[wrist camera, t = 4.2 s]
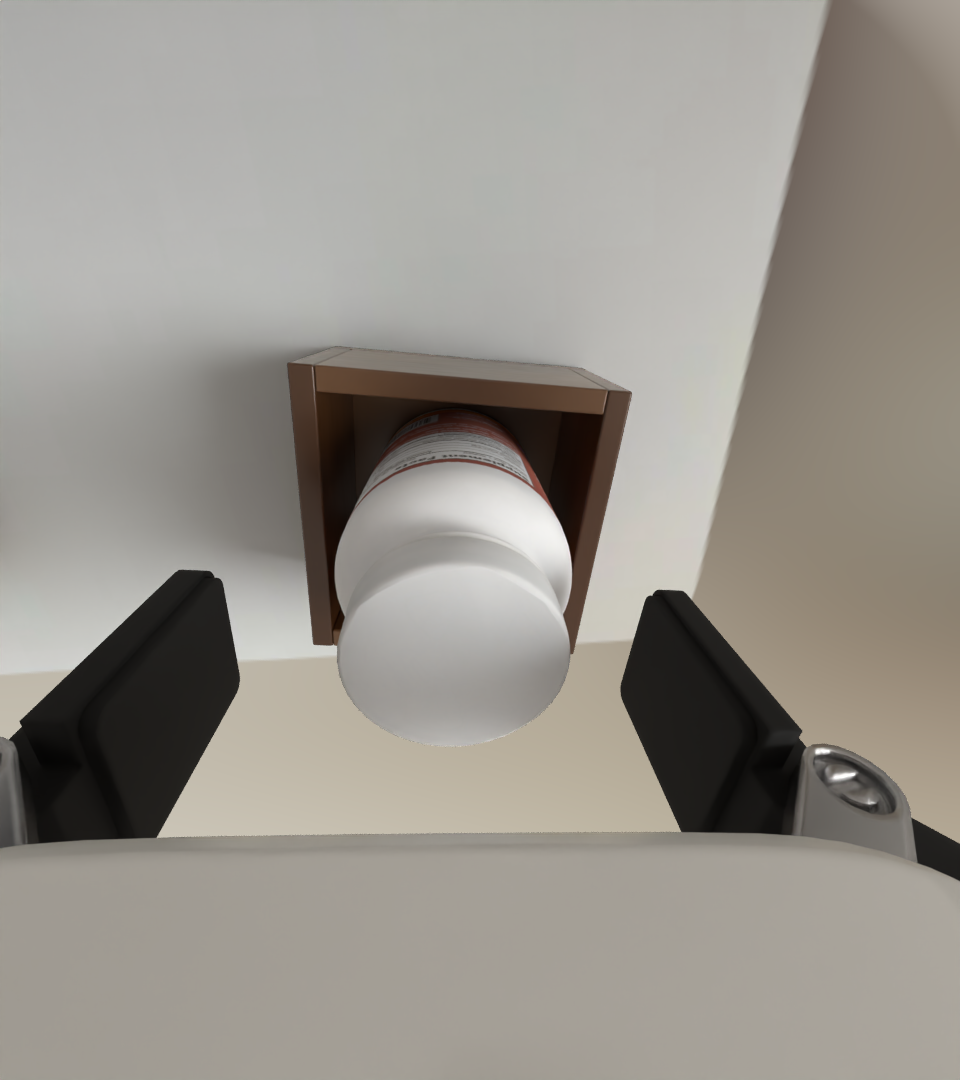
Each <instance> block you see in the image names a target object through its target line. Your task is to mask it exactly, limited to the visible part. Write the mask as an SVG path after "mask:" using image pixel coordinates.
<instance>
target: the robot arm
mask: <svg viewBox="0 0 960 1080" xmlns="http://www.w3.org/2000/svg"><path fill="white" fill-rule="evenodd" d="M239 682H240V676H239V669H238V664H237V658H236V653H235V647H234V642H233V636H232V631H231V625H230V620H229V614H228V609H227V603H226V598H225V593H224V587H223V583H222V581H221V579H219V578H214V575H213V574H212V572H210V571H198V570H178V571H177V572H175V573H174V574H173V575H172V576H171V577H170V578H169V579H168V580H167V581H166V582H165V583H164V584H163V585H162V586H161V587H160V588H159V589H158V590H156V591H155V592H154V593H153V594H152V595H151V596H150V597H149V598H148V599H147V600H146V601H145V602H144V603H143V604H142V605H141V606H140V607H139V608H138V609H137V610H136V611H134V612H133V613H132V614H131V615H130V616H129V617H128V618H127V619H126V620H125V621H124V622H123V623H122V624H121V625H120V626H119V627H118V628H117V629H116V630H115V631H114V632H113V633H111V634H110V635H109V636H108V637H107V638H106V639H105V640H104V641H103V642H102V643H101V644H100V645H99V646H98V647H97V648H96V649H95V650H94V651H93V652H92V653H91V654H90V655H88V656H87V657H86V658H85V659H84V660H83V661H82V662H81V663H80V664H79V665H78V666H77V667H76V668H75V669H74V670H73V671H72V672H71V673H70V674H69V675H68V676H67V677H65V678H64V679H63V680H62V681H61V682H60V683H59V684H58V685H57V686H56V687H55V688H54V689H53V690H52V691H51V692H50V693H49V694H48V695H47V696H46V697H45V698H44V699H43V700H41V701H40V702H39V703H38V704H37V705H36V706H35V707H34V708H33V709H32V710H31V711H30V712H29V713H28V714H27V715H26V716H25V717H24V718H23V719H22V720H20V724H21V725H22V727H21V728H20V729H19V730H18V731H17V732H16V733H15V734H14V735H13V736H12V737H11V738H10V739H9V740H8V739H6V738H4V737H0V1080H960V844H959V843H957V842H955V841H954V840H952V839H950V838H948V837H946V836H944V835H942V834H940V833H939V832H937V831H935V830H933V829H931V828H929V827H928V826H926V825H924V824H922V823H920V822H918V821H917V820H915V819H913V818H911V812H910V807H909V804H908V802H907V799H906V797H905V795H904V793H903V792H902V791H901V789H900V788H899V786H898V785H897V784H896V783H895V782H894V781H893V780H892V779H891V778H890V777H889V776H888V775H887V774H886V773H885V772H884V771H882V770H881V769H880V768H878V767H877V766H876V765H874V764H873V763H871V762H870V761H868V760H867V759H865V758H863V757H861V756H859V755H857V754H856V753H854V752H851V751H849V750H846V749H844V748H841V747H838V746H834V745H828V744H814V745H811V746H809V747H806V746H805V745H804V744H803V742H802V741H801V740H800V739H799V736H800V734H801V733H802V730H801V729H800V728H799V726H798V725H797V724H796V723H795V722H794V721H793V719H792V718H791V717H790V716H789V715H788V713H787V712H786V711H785V710H784V709H783V708H782V707H781V705H780V704H779V703H778V702H777V700H776V699H775V698H774V697H773V696H772V695H771V693H770V692H769V691H768V690H767V689H766V687H765V686H764V685H763V684H762V683H761V682H760V680H759V679H758V678H757V677H756V676H755V674H754V673H753V672H752V671H751V670H750V669H749V667H748V666H747V665H746V664H745V663H744V661H743V660H742V659H741V658H740V657H739V656H738V654H737V653H736V652H735V651H734V650H733V648H732V647H731V646H730V645H729V644H728V643H727V641H726V640H725V639H724V638H723V637H722V635H721V634H720V633H719V632H718V631H717V630H716V628H715V627H714V626H713V625H712V624H711V622H710V621H709V620H708V619H707V618H706V617H705V616H704V614H703V613H702V612H701V611H700V609H699V608H698V607H697V606H696V605H695V604H694V602H693V601H692V600H691V599H690V598H689V596H688V595H687V594H686V593H685V592H684V591H675V590H657V591H655V592H654V594H653V596H648V597H647V598H646V600H645V603H644V606H643V610H642V613H641V617H640V620H639V624H638V627H637V630H636V634H635V637H634V641H633V645H632V648H631V651H630V655H629V659H628V662H627V665H626V669H625V672H624V675H623V680H622V682H621V697H622V700H623V703H624V705H625V707H626V709H627V712H628V714H629V716H630V718H631V720H632V723H633V725H634V727H635V730H636V732H637V734H638V736H639V738H640V741H641V743H642V745H643V747H644V750H645V752H646V754H647V756H648V758H649V761H650V763H651V765H652V767H653V769H654V772H655V774H656V776H657V779H658V780H659V783H660V785H661V787H662V790H663V792H664V794H665V796H666V799H667V801H668V803H669V805H670V807H671V809H672V812H673V814H674V816H675V819H676V821H677V823H678V825H679V828H680V830H681V832H600V833H599V832H598V833H597V832H591V833H589V832H583V833H581V832H580V833H579V832H577V833H576V832H573V833H572V832H569V833H567V832H566V833H433V834H343V835H279V836H278V835H277V836H217V837H216V836H212V837H169V838H157V836H158V834H159V832H160V830H161V829H162V827H163V825H164V823H165V821H166V820H167V818H168V816H169V814H170V812H171V811H172V809H173V807H174V805H175V803H176V801H177V800H178V798H179V796H180V794H181V792H182V791H183V789H184V787H185V785H186V783H187V782H188V780H189V778H190V776H191V774H192V773H193V771H194V769H195V767H196V765H197V764H198V762H199V760H200V758H201V756H202V755H203V753H204V751H205V749H206V747H207V746H208V744H209V742H210V740H211V738H212V737H213V735H214V733H215V731H216V729H217V728H218V726H219V724H220V722H221V720H222V718H223V717H224V715H225V713H226V711H227V709H228V708H229V706H230V704H231V702H232V700H233V699H234V697H235V695H236V693H237V691H238V688H239Z"/></svg>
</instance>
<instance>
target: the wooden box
mask: <svg viewBox="0 0 960 1080" xmlns="http://www.w3.org/2000/svg"><path fill="white" fill-rule="evenodd" d="M287 368H288V379H289V389H290V400H291V411H292V422H293V432H294V443H295V454H296V465H297V475H298V486H299V497H300V508H301V518H302V529H303V540H304V551H305V561H306V572H307V583H308V594H309V604H310V615H311V626H312V637H313V644H314V645H330V646H331V645H333V643H334V645H335V646H338V640H339V636H340V632H341V629H342V625H343V622H344V619H345V616H344V613H343V611H342V608H341V606H340V603H339V600H338V596H337V592H336V585H335V560H336V554H337V550H338V545H339V542H340V540H341V537H342V534H343V532H344V529H345V527H346V524H347V522H348V520H349V518H350V516H351V514H352V512H353V510H354V508H355V505H356V504H357V502H358V500H359V497H360V496H361V494H362V491H363V489H364V487H365V486H366V484H367V482H368V480H369V478H370V476H371V474H372V472H373V470H374V468H375V466H376V464H377V462H378V460H379V458H380V456H381V454H382V452H383V450H384V449H385V447H386V445H387V444H388V442H389V441H390V440H391V438H392V437H393V436H394V435H395V433H396V432H397V431H398V430H399V429H400V428H402V427H403V426H404V425H405V424H407V423H408V422H410V421H411V420H413V419H414V418H416V417H418V416H420V415H423V414H425V413H428V412H431V411H435V410H440V409H448V408H458V409H467V410H472V411H476V412H479V413H482V414H484V415H486V416H489V417H491V418H492V419H494V420H496V421H497V422H499V423H500V424H501V425H503V426H504V427H505V428H506V429H507V430H508V431H509V432H510V433H511V434H512V435H513V436H514V437H515V438H516V440H517V441H518V443H519V444H520V446H521V447H522V449H523V451H524V453H525V455H526V457H527V458H528V461H529V463H530V465H531V467H532V469H533V470H534V473H535V475H536V477H537V478H538V480H539V483H540V484H541V487H542V489H543V491H544V492H545V494H546V497H547V498H548V500H549V503H550V504H551V506H552V508H553V510H554V512H555V514H556V516H557V518H558V520H559V522H560V524H561V526H562V529H563V532H564V534H565V537H566V540H567V543H568V546H569V551H570V556H571V565H572V584H571V591H570V596H569V600H568V603H567V606H566V609H565V611H564V613H563V617H564V620H565V624H566V627H567V631H568V635H569V641H570V654H573V652H574V648H575V643H576V639H577V635H578V630H579V626H580V621H581V617H582V613H583V608H584V604H585V599H586V595H587V590H588V586H589V582H590V577H591V573H592V568H593V564H594V560H595V555H596V551H597V546H598V542H599V538H600V533H601V529H602V524H603V520H604V515H605V511H606V507H607V502H608V498H609V493H610V489H611V485H612V480H613V476H614V471H615V467H616V462H617V458H618V454H619V449H620V445H621V440H622V436H623V432H624V427H625V423H626V418H627V414H628V410H629V405H630V401H631V396H632V392H630V391H628V390H626V389H624V388H622V387H620V386H618V385H616V384H614V383H612V382H610V381H608V380H606V379H603V378H601V377H599V376H597V375H595V374H593V373H591V372H589V371H587V370H585V369H583V368H575V367H563V366H552V365H541V364H530V363H518V362H507V361H496V360H485V359H473V358H462V357H451V356H440V355H428V354H417V353H406V352H395V351H383V350H372V349H361V348H350V347H338V346H336V347H333V348H331V349H328V350H325V351H322V352H319V353H316V354H313V355H310V356H307V357H304V358H301V359H298V360H295V361H292V362H289V363H288V364H287Z"/></svg>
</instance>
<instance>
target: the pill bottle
mask: <svg viewBox="0 0 960 1080" xmlns="http://www.w3.org/2000/svg"><path fill="white" fill-rule="evenodd" d="M571 584H572V565H571V556H570V551H569V546H568V543H567V540H566V537H565V534H564V532H563V529H562V526H561V524H560V522H559V520H558V518H557V516H556V514H555V512H554V510H553V508H552V506H551V504H550V503H549V500H548V498H547V497H546V494H545V492H544V491H543V489H542V487H541V484H540V483H539V480H538V478H537V477H536V475H535V473H534V470H533V469H532V467H531V465H530V463H529V461H528V458H527V457H526V455H525V453H524V451H523V449H522V447H521V446H520V444H519V443H518V441H517V440H516V438H515V437H514V436H513V435H512V434H511V433H510V432H509V431H508V430H507V429H506V428H505V427H504V426H503V425H501V424H500V423H499V422H497V421H496V420H494V419H492V418H491V417H489V416H486V415H484V414H482V413H479V412H476V411H472V410H467V409H458V408H448V409H440V410H435V411H431V412H428V413H425V414H423V415H420V416H418V417H416V418H414V419H413V420H411V421H410V422H408V423H407V424H405V425H404V426H403V427H402V428H400V429H399V430H398V431H397V432H396V433H395V435H394V436H393V437H392V438H391V440H390V441H389V442H388V444H387V445H386V447H385V449H384V450H383V452H382V454H381V456H380V458H379V460H378V462H377V464H376V466H375V468H374V470H373V472H372V474H371V476H370V478H369V480H368V482H367V484H366V486H365V487H364V489H363V491H362V494H361V496H360V497H359V500H358V502H357V504H356V505H355V508H354V510H353V512H352V514H351V516H350V518H349V520H348V522H347V524H346V527H345V529H344V532H343V534H342V537H341V540H340V542H339V545H338V550H337V554H336V560H335V585H336V592H337V596H338V600H339V603H340V606H341V608H342V611H343V613H344V616H345V619H344V622H343V625H342V629H341V632H340V636H339V640H338V646H337V663H338V669H339V675H340V678H341V681H342V683H343V686H344V688H345V690H346V692H347V694H348V696H349V697H350V699H351V700H352V702H353V703H354V705H355V706H356V707H357V708H358V709H359V710H360V711H361V712H362V713H363V714H364V715H365V716H366V717H367V718H368V719H369V720H371V721H372V722H373V723H375V724H376V725H378V726H379V727H381V728H382V729H384V730H386V731H388V732H390V733H392V734H393V735H395V736H398V737H401V738H404V739H407V740H409V741H413V742H417V743H421V744H428V745H434V746H448V747H456V746H466V745H474V744H479V743H484V742H488V741H492V740H495V739H498V738H501V737H504V736H506V735H508V734H511V733H512V732H515V731H516V730H518V729H520V728H522V727H523V726H525V725H527V724H528V723H529V722H531V721H532V720H534V719H535V718H536V717H538V716H539V715H540V714H541V713H542V712H543V711H544V710H545V709H546V708H547V707H548V706H549V705H550V703H552V702H553V700H554V699H555V697H556V696H557V694H558V693H559V691H560V689H561V687H562V685H563V683H564V681H565V678H566V675H567V672H568V668H569V663H570V641H569V635H568V631H567V627H566V624H565V620H564V617H563V613H564V611H565V609H566V606H567V603H568V600H569V596H570V591H571Z"/></svg>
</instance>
